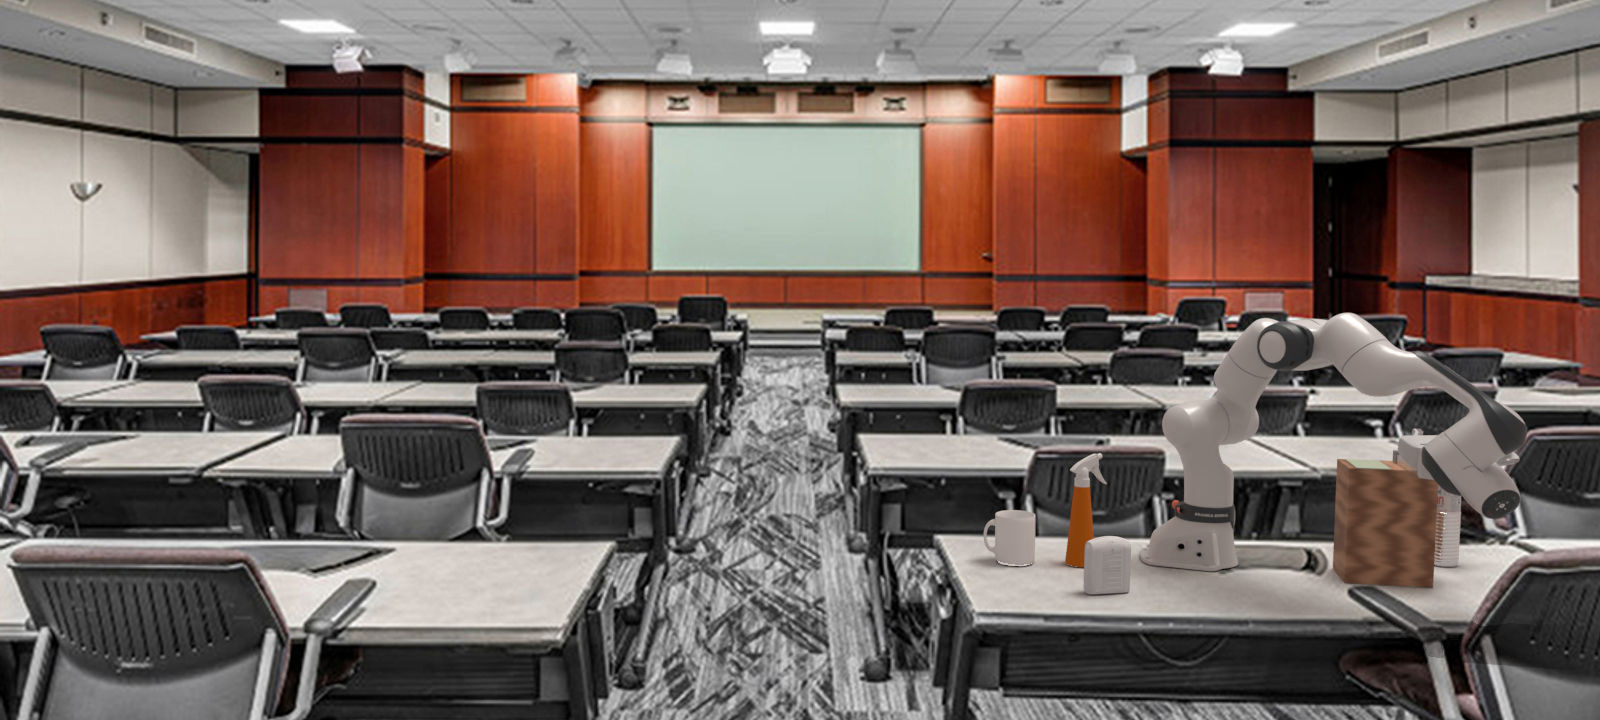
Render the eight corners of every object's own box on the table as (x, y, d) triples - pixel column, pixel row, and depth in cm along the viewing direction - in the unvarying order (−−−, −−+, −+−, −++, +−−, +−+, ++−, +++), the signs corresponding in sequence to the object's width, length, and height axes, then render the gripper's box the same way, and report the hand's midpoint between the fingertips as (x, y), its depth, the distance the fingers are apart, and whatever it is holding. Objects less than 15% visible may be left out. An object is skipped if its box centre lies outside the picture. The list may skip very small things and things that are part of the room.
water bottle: (1462, 568, 267) (1468, 463, 264) (1430, 567, 268) (1436, 462, 266) (1452, 561, 273) (1457, 458, 271) (1421, 559, 275) (1426, 457, 272)
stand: (1344, 582, 255) (1349, 468, 253) (1332, 568, 267) (1337, 458, 265) (1433, 588, 251) (1438, 471, 249) (1417, 573, 263) (1422, 461, 260)
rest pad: (1356, 468, 253) (1356, 467, 253) (1345, 459, 263) (1345, 459, 263) (1391, 469, 251) (1391, 468, 251) (1378, 461, 262) (1378, 460, 262)
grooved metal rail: (1433, 478, 241) (1434, 466, 241) (1418, 478, 242) (1418, 466, 241) (1406, 462, 260) (1407, 450, 260) (1392, 461, 261) (1393, 450, 261)
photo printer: (1123, 587, 252) (1124, 532, 251) (1133, 593, 248) (1134, 537, 247) (1080, 591, 250) (1081, 535, 249) (1089, 596, 246) (1090, 540, 245)
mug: (1037, 568, 268) (1038, 519, 267) (985, 567, 269) (986, 518, 268) (1031, 557, 278) (1032, 510, 277) (982, 556, 278) (982, 509, 277)
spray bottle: (1114, 564, 271) (1116, 454, 269) (1078, 569, 267) (1080, 458, 264) (1094, 557, 278) (1096, 450, 275) (1058, 562, 273) (1060, 453, 271)
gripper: (1526, 449, 223) (1495, 416, 236) (1415, 450, 226) (1390, 418, 239) (1520, 477, 226) (1490, 443, 238) (1410, 478, 229) (1386, 445, 241)
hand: (1439, 431), depth 239 cm, fingers open, 8 cm apart
